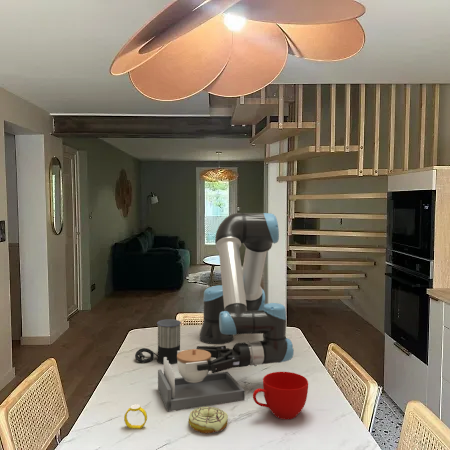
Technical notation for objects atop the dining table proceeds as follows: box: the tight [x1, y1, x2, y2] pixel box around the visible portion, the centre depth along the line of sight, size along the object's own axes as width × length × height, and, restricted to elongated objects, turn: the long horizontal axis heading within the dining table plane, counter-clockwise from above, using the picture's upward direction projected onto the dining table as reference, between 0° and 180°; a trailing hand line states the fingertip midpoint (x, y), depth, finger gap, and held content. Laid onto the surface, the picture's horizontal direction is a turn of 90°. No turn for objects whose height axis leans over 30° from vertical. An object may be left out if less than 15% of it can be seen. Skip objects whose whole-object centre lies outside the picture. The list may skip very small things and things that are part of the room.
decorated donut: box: [187, 406, 229, 435], centre depth 121 cm, size 10×11×4 cm
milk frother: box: [134, 318, 182, 365], centre depth 169 cm, size 14×16×15 cm
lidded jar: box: [176, 348, 212, 383], centre depth 138 cm, size 11×11×9 cm
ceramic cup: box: [252, 371, 309, 420], centre depth 126 cm, size 13×17×10 cm
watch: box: [123, 403, 148, 430], centre depth 119 cm, size 6×3×6 cm, turn 86°
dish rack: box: [157, 357, 246, 412], centre depth 140 cm, size 16×24×11 cm, turn 109°
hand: (181, 361), depth 137 cm, fingers closed on lidded jar, 11 cm apart
